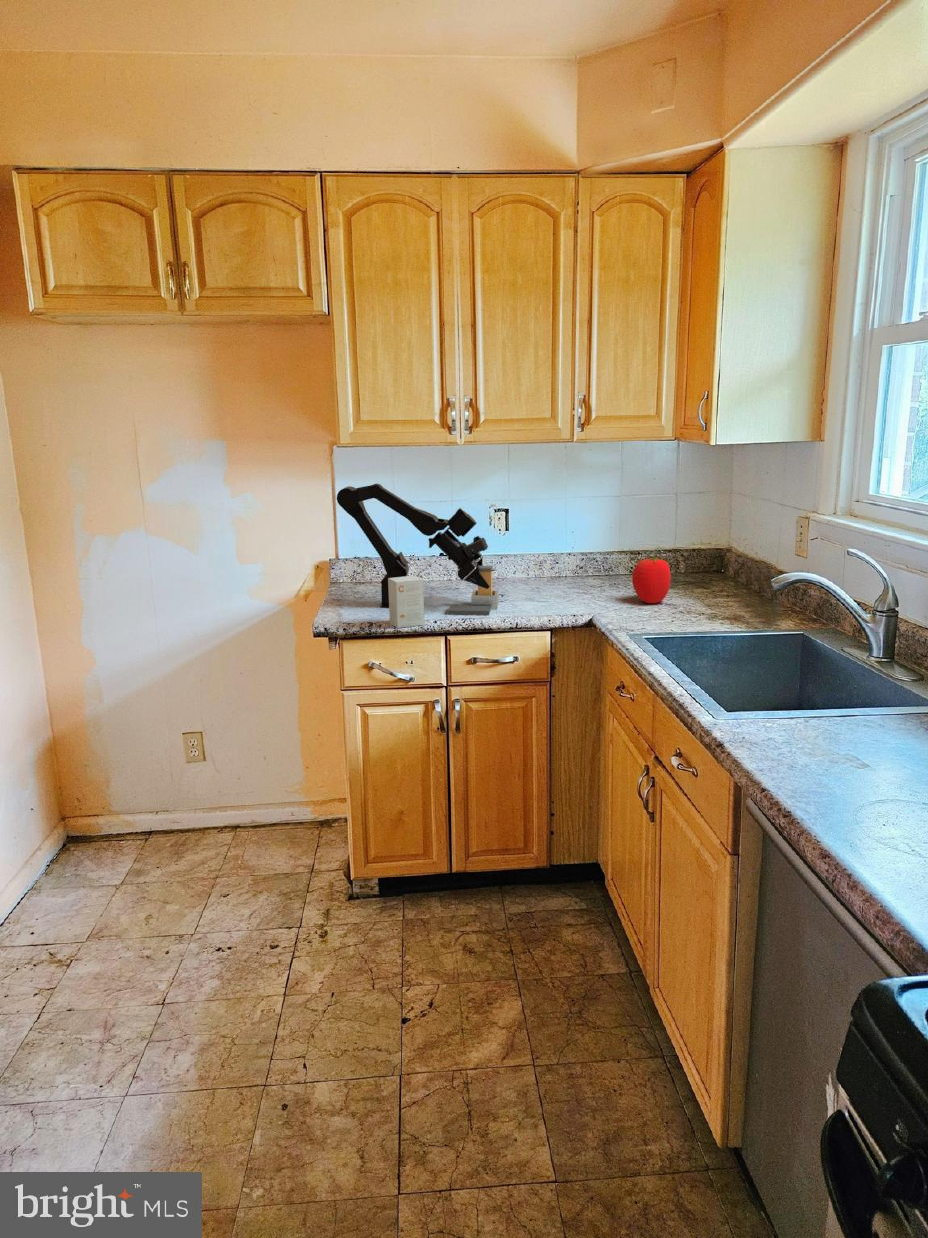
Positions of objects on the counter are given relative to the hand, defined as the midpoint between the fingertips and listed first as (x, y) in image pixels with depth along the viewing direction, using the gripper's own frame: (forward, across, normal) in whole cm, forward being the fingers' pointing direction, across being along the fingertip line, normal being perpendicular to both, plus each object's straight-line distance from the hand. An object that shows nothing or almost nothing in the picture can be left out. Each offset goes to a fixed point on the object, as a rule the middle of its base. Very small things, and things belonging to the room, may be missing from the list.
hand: (489, 584), depth 250 cm
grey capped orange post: (+4, 0, +6) cm, 7 cm away
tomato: (+39, +9, -30) cm, 50 cm away
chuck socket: (+4, 0, +6) cm, 7 cm away
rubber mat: (+1, -8, +8) cm, 12 cm away
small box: (-10, -23, +20) cm, 32 cm away
